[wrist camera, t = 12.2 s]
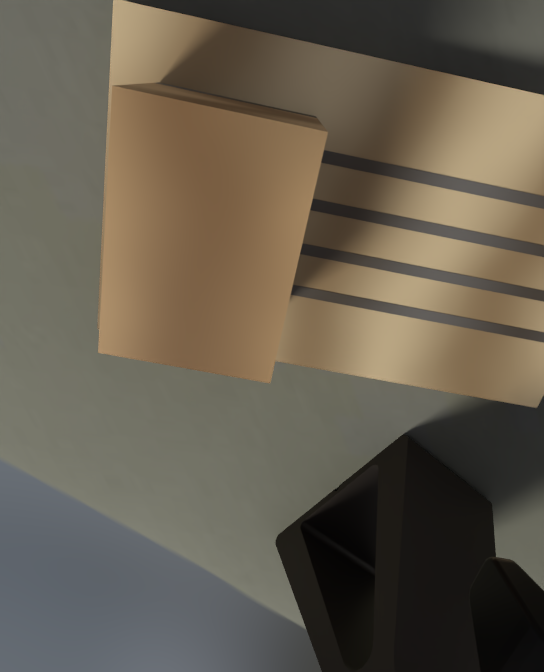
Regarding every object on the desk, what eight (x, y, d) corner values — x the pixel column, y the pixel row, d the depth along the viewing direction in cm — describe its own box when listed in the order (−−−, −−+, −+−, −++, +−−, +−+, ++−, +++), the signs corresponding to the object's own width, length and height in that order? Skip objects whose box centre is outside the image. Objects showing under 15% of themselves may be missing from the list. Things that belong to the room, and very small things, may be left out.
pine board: (657, 123, 18) (682, 126, 16) (524, 391, 22) (536, 408, 21) (124, 3, 16) (113, -2, 15) (106, 316, 21) (97, 329, 20)
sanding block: (316, 116, 17) (327, 131, 12) (272, 312, 20) (269, 383, 15) (159, 82, 16) (112, 85, 12) (140, 288, 19) (98, 352, 15)
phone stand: (406, 431, 24) (508, 729, 13) (489, 498, 25) (641, 810, 15) (274, 536, 27) (269, 845, 16) (356, 589, 28) (401, 901, 18)
